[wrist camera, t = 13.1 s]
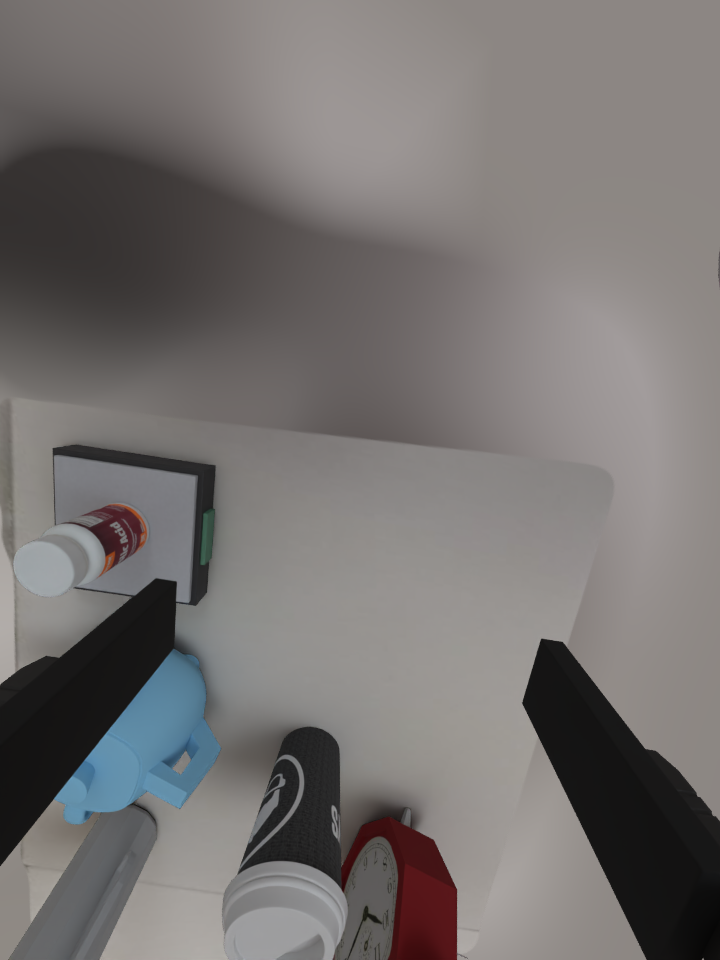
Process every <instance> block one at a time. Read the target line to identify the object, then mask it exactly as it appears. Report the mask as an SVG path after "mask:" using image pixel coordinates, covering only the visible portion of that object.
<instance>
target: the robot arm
mask: <svg viewBox="0 0 720 960" xmlns="http://www.w3.org/2000/svg"><path fill="white" fill-rule="evenodd" d="M176 594H177V581H171V580H165V579H159V578H155V579H154V580H153V581H152V582H151V583H149V584H148V585H147V586H146V587H144V588H143V589H142V590H141V591H140V592H138V593H137V594H136V595H135V596H134V597H132V598H131V599H130V600H129V601H128V602H126V603H125V604H124V605H123V606H122V607H120V608H119V609H118V610H117V611H116V612H114V613H113V614H112V615H111V616H109V617H108V618H107V619H106V620H105V621H103V622H102V623H101V624H100V625H99V626H97V627H96V628H95V629H94V630H93V631H91V632H90V633H89V634H88V635H87V636H85V637H84V638H83V639H82V640H81V641H79V642H78V643H77V644H76V645H74V646H73V647H72V648H71V649H70V650H68V651H67V652H66V653H65V654H64V655H62V656H61V657H60V658H56V657H50V656H45V657H43V658H41V659H39V660H37V661H35V662H33V663H31V664H29V665H27V666H25V667H23V668H21V669H20V670H18V671H17V672H16V673H15V674H13V675H12V676H11V677H9V678H8V679H7V680H5V681H4V682H3V683H2V684H1V685H0V866H1V864H2V863H3V862H4V861H5V860H6V858H7V857H8V856H9V854H10V853H11V852H12V851H13V849H14V848H15V847H16V846H17V845H18V843H19V842H20V841H21V840H22V838H23V837H24V836H25V835H26V833H27V832H28V831H29V829H30V828H31V827H32V826H33V824H34V823H35V822H36V821H37V819H38V818H39V817H40V816H41V814H42V813H43V812H44V811H45V809H46V808H47V807H48V806H49V804H50V803H51V802H52V801H53V799H54V798H55V797H56V796H57V794H58V793H59V792H60V791H61V789H62V788H63V787H64V786H65V784H66V783H67V782H68V781H69V779H70V778H71V777H72V776H73V774H74V773H75V772H76V771H77V769H78V768H79V767H80V766H81V764H82V763H83V762H84V760H85V759H86V758H87V757H88V755H89V754H90V753H91V752H92V750H93V749H94V748H95V747H96V745H97V744H98V743H99V742H100V740H101V739H102V738H103V737H104V735H105V734H106V733H107V732H108V730H109V729H110V728H111V727H112V725H113V724H114V723H115V722H116V720H117V719H118V718H119V717H120V715H121V714H122V713H123V712H124V710H125V709H126V708H127V707H128V705H129V704H130V703H131V702H132V700H133V699H134V698H135V697H136V695H137V694H138V693H139V691H140V690H141V689H142V688H143V686H144V685H145V684H146V683H147V681H148V680H149V679H150V678H151V676H152V675H153V674H154V673H155V671H156V670H157V669H158V668H159V666H160V665H161V664H162V663H163V661H164V660H165V659H166V658H167V656H168V655H169V654H170V653H171V651H172V650H173V649H174V637H175V615H176ZM522 704H523V706H524V708H525V710H526V712H527V714H528V716H529V718H530V720H531V722H532V724H533V726H534V729H535V731H536V733H537V735H538V737H539V739H540V741H541V743H542V745H543V747H544V749H545V751H546V753H547V755H548V757H549V759H550V761H551V763H552V765H553V767H554V770H555V772H556V774H557V776H558V778H559V780H560V782H561V784H562V786H563V788H564V790H565V792H566V794H567V796H568V799H569V801H570V803H571V804H572V807H573V809H574V811H575V813H576V815H577V817H578V819H579V821H580V823H581V825H582V827H583V829H584V831H585V834H586V835H587V838H588V839H589V842H590V844H591V846H592V848H593V850H594V852H595V854H596V856H597V858H598V860H599V862H600V865H601V867H602V869H603V871H604V873H605V875H606V877H607V879H608V881H609V883H610V885H611V887H612V889H613V891H614V893H615V895H616V898H617V900H618V901H619V904H620V906H621V908H622V910H623V912H624V914H625V916H626V918H627V920H628V922H629V924H630V926H631V928H632V930H633V932H634V935H635V937H636V939H637V941H638V943H639V945H640V946H641V949H642V951H643V953H644V955H645V957H646V959H647V960H702V958H704V960H720V821H719V820H718V819H717V817H716V816H713V815H712V811H711V810H710V809H709V808H708V806H707V805H706V804H705V803H704V801H703V800H702V799H701V798H700V797H697V794H696V792H695V790H694V789H693V788H692V787H691V785H690V784H689V783H688V782H687V781H686V779H685V778H684V777H683V776H682V774H681V773H680V772H679V771H678V770H677V769H676V768H675V767H674V766H672V765H671V764H670V763H669V762H668V761H667V760H666V759H664V758H663V757H662V756H661V755H660V754H659V753H658V752H656V751H653V750H647V749H645V748H644V747H643V746H642V744H641V743H640V742H639V740H638V739H637V738H636V737H635V735H634V734H633V733H632V731H631V730H630V729H629V727H628V726H627V725H626V724H625V722H624V721H623V720H622V718H621V717H620V716H619V714H618V713H617V712H616V711H615V709H614V708H613V707H612V706H611V704H610V703H609V702H608V700H607V699H606V698H605V696H604V695H603V694H602V693H601V691H600V690H599V689H598V687H597V686H596V685H595V683H594V682H593V681H592V680H591V678H590V677H589V676H588V674H587V673H586V672H585V670H584V669H583V668H582V667H581V665H580V664H579V663H578V661H577V660H576V659H575V658H574V656H573V655H572V654H571V652H570V651H569V650H568V648H567V647H566V646H565V644H564V643H563V642H559V641H553V640H547V639H541V641H540V645H539V648H538V651H537V655H536V658H535V661H534V665H533V668H532V672H531V675H530V678H529V682H528V685H527V689H526V692H525V695H524V699H523V702H522Z"/></svg>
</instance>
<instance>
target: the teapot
mask: <svg viewBox="0 0 720 960" xmlns="http://www.w3.org/2000/svg"><path fill="white" fill-rule="evenodd" d="M206 694H207V693H206V686H205V682H204V679H203V676H202V673H201V671H200V670H199V661H198V660H197V658H196V657H194V656H192V655H189V654H185V655H183V654H182V653H180V652H179V651H177V650H175V649H173V650H172V651H171V653H170V654H169V655H168V656H167V658H166V659H165V660H164V661H163V663H162V664H161V665H160V666H159V668H158V669H157V670H156V671H155V673H154V674H153V675H152V676H151V678H150V679H149V680H148V681H147V683H146V684H145V685H144V686H143V688H142V689H141V690H140V691H139V693H138V694H137V695H136V697H135V698H134V699H133V700H132V702H131V703H130V704H129V705H128V707H127V708H126V709H125V710H124V712H123V713H122V714H121V715H120V717H119V718H118V719H117V720H116V722H115V723H114V724H113V725H112V727H111V728H110V729H109V730H108V732H107V733H106V734H105V735H104V737H103V738H102V739H101V740H100V742H99V743H98V744H97V745H96V747H95V748H94V749H93V750H92V752H91V753H90V754H89V755H88V757H87V758H86V759H85V760H84V762H83V763H82V764H81V766H80V767H79V768H78V769H77V771H76V772H75V773H74V774H73V776H72V777H71V778H70V779H69V781H68V782H67V783H66V784H65V786H64V787H63V788H62V789H61V791H60V792H59V793H58V794H57V796H56V797H55V798H54V799H55V800H57V801H59V802H61V803H63V804H65V805H66V806H65V809H64V814H63V816H64V819H65V820H66V821H67V822H68V823H70V824H82V823H84V822H85V821H87V820H88V819H89V817H90V816H91V815H92V813H93V812H114V811H118V810H121V809H123V808H125V807H127V806H128V805H130V804H131V803H133V802H134V801H135V800H137V799H138V798H139V797H141V796H142V795H143V794H144V793H146V792H149V793H151V794H153V795H155V796H157V797H159V798H160V799H162V800H164V801H166V802H168V803H170V804H172V805H173V806H175V807H177V808H179V809H180V808H181V807H182V806H183V804H184V803H185V802H186V800H187V799H188V798H189V796H190V795H191V794H192V792H193V791H194V790H195V788H196V787H197V786H198V784H199V783H200V782H201V780H202V779H203V778H204V776H205V775H206V774H207V772H208V771H209V770H210V768H211V767H212V766H213V764H214V763H215V761H216V759H217V756H218V754H219V752H220V750H221V747H220V746H219V744H218V742H217V740H216V739H215V737H214V735H213V733H212V732H211V730H210V728H209V726H208V725H207V723H206V721H205V719H204V718H203V715H204V709H205V704H206ZM185 751H187V753H188V754H189V756H190V758H191V761H190V763H189V764H188V766H187V767H186V769H185V770H184V772H183V773H182V774H181V775H180V774H178V773H177V772H176V771H174V770H173V769H172V768H173V767H174V765H175V764H176V763H177V762H178V760H179V759H180V758H181V756H182V755H183V753H184V752H185Z"/></svg>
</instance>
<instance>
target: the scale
mask: <svg viewBox="0 0 720 960" xmlns="http://www.w3.org/2000/svg"><path fill="white" fill-rule="evenodd" d="M53 474H54V510H55V525H58V524H61V523H63V522H66V521H68V520H71V519H73V518H76V517H79V516H81V515H84V514H86V513H89V512H91V511H93V510H96V509H99V508H101V507H103V506H106V505H109V504H112V503H125V504H128V505H131V506H133V507H135V508H137V509H138V510H139V511H140V512H141V513H142V514H143V515H144V517H145V518H146V520H147V522H148V525H149V538H148V541H147V543H146V544H145V546H144V547H143V548H142V549H140V550H139V551H138V552H136V553H134V554H133V555H132V556H130V557H129V558H127V559H125V560H124V561H122V562H121V563H119V564H118V565H117V566H115V567H113V568H112V569H110V570H109V571H107V572H106V573H104V574H103V575H101V576H100V577H98V578H97V579H95V580H94V581H92V582H90V583H87V584H84V585H80V586H76V587H74V588H76V589H83V590H90V591H97V592H104V593H111V594H118V595H125V596H132V597H134V596H135V595H136V594H137V593H138V592H140V591H141V590H142V589H143V588H144V587H146V586H147V585H148V584H149V583H151V582H152V581H153V580H154V579H155V578H159V579H165V580H171V581H177V594H176V603H181V604H188V605H195V606H196V605H197V604H198V602H199V601H200V600H201V599H202V598H203V596H204V595H205V594H206V593H207V583H208V569H209V560H210V559H211V558H212V543H213V529H214V514H215V509H213V495H214V480H215V466H214V465H207V464H201V463H194V462H187V461H181V460H174V459H167V458H161V457H154V456H147V455H141V454H134V453H127V452H120V451H114V450H107V449H100V448H94V447H87V446H80V445H70V446H63V447H57V448H53Z"/></svg>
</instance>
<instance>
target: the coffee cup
mask: <svg viewBox="0 0 720 960" xmlns="http://www.w3.org/2000/svg"><path fill="white" fill-rule="evenodd" d="M347 915H348V906H347V901H346V898H345V895H344V893H343V892H342V883H341V827H340V754H339V747H338V744H337V742H336V740H335V739H334V738H333V737H332V736H331V735H330V734H329V733H327V732H325V731H323V730H321V729H317V728H311V727H307V728H300V729H297V730H295V731H293V732H291V733H290V734H289V735H287V737H286V738H285V739H284V741H283V743H282V745H281V748H280V751H279V754H278V757H277V760H276V763H275V766H274V769H273V772H272V775H271V778H270V781H269V784H268V786H267V789H266V792H265V795H264V798H263V801H262V804H261V807H260V810H259V813H258V816H257V819H256V822H255V825H254V828H253V830H252V833H251V836H250V839H249V842H248V845H247V848H246V851H245V854H244V857H243V859H242V862H241V865H240V868H239V871H238V874H237V876H236V877H235V878H234V879H233V880H232V881H231V882H230V884H229V885H228V887H227V889H226V891H225V894H224V897H223V907H222V925H223V930H224V949H225V953H226V955H227V957H228V959H229V960H333V957H334V953H335V949H336V947H337V946H338V944H339V942H340V940H341V937H342V934H343V932H344V929H345V924H346V920H347Z"/></svg>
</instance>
